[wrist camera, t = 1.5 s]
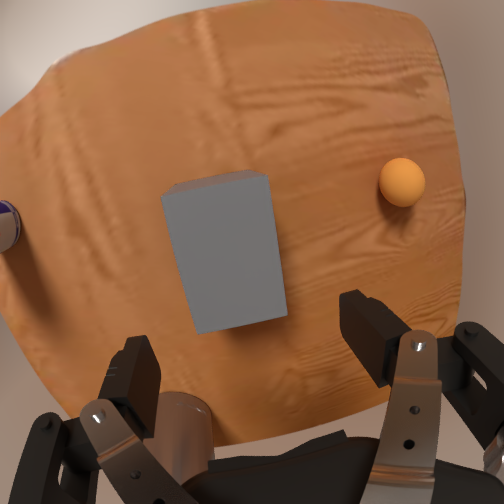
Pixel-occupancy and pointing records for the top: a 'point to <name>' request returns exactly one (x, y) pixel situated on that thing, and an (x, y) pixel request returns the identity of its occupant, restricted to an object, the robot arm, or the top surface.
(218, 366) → the top surface
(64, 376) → the top surface
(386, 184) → the ball
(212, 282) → the gray tapered block
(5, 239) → the energy drink
